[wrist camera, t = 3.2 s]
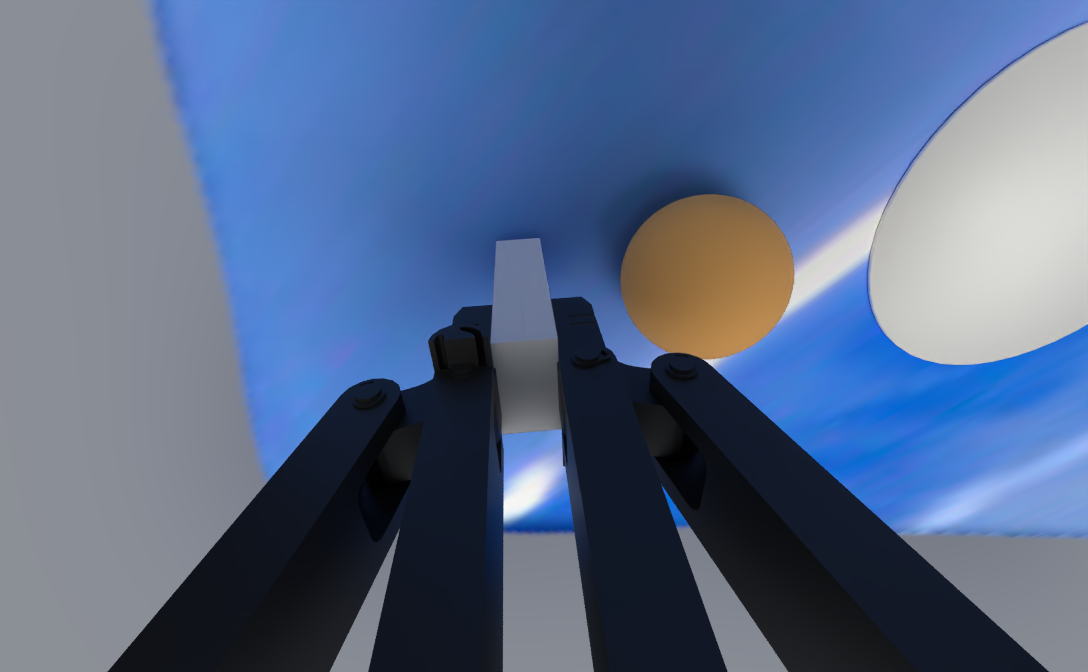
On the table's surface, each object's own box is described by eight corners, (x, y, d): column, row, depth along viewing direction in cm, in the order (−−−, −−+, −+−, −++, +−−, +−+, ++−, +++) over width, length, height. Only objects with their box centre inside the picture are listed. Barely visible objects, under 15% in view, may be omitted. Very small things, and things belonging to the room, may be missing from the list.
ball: (714, 145, 16) (801, 182, 11) (765, 265, 19) (853, 336, 14) (580, 232, 17) (608, 297, 13) (645, 333, 20) (688, 419, 15)
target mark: (1295, -109, 14) (1305, -111, 13) (1225, 258, 20) (1231, 260, 20) (829, 170, 17) (833, 171, 17) (900, 407, 23) (903, 410, 23)
